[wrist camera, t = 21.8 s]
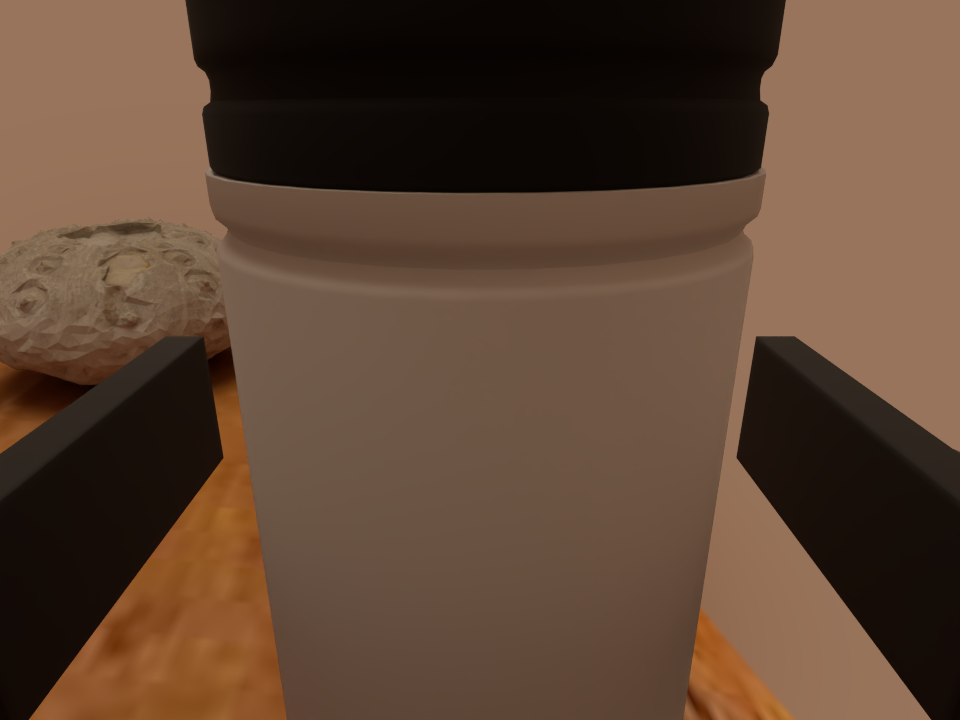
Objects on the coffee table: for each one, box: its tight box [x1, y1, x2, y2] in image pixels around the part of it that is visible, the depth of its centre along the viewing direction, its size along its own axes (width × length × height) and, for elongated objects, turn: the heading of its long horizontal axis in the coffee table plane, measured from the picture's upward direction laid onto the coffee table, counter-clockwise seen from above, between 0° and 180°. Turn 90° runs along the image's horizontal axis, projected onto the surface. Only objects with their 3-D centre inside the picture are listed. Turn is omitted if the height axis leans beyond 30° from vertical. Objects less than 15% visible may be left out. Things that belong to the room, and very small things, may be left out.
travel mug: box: [186, 0, 786, 720], centre depth 10 cm, size 6×7×20 cm
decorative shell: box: [0, 217, 231, 385], centre depth 46 cm, size 18×18×10 cm
